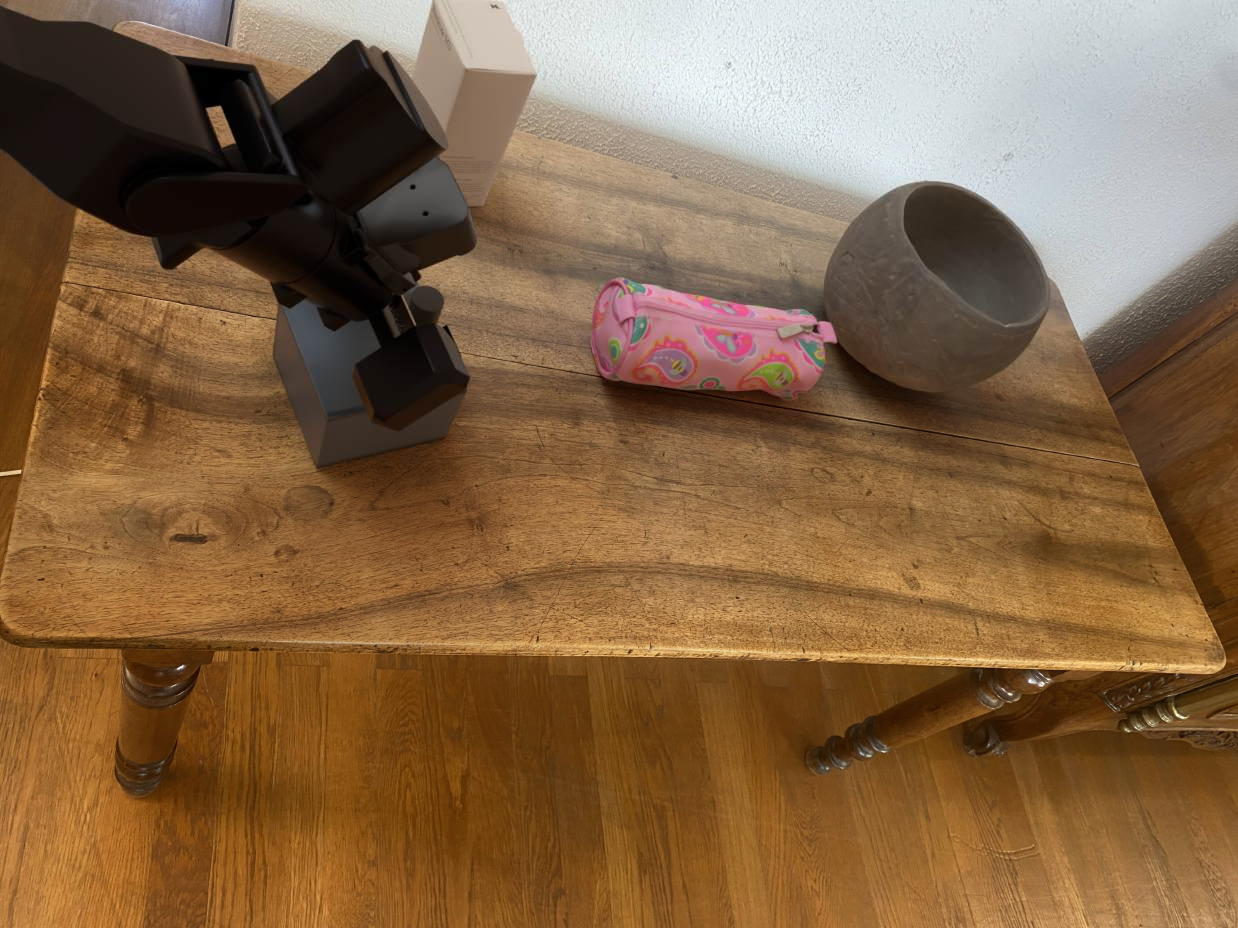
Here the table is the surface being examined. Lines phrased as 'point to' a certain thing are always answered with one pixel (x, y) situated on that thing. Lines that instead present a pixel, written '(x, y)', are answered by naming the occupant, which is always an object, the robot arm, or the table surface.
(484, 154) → the cosmetic box
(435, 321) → the grey box with peg
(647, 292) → the pencil case
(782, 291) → the table surface
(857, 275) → the bowl
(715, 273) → the table surface
